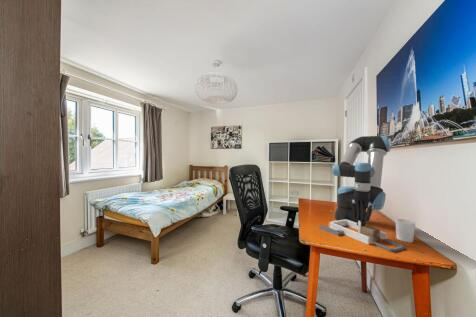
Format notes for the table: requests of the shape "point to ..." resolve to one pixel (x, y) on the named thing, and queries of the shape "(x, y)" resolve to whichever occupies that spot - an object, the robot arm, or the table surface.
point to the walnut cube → (371, 233)
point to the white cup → (405, 230)
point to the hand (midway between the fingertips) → (360, 232)
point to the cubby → (338, 226)
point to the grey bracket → (398, 248)
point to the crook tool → (331, 230)
